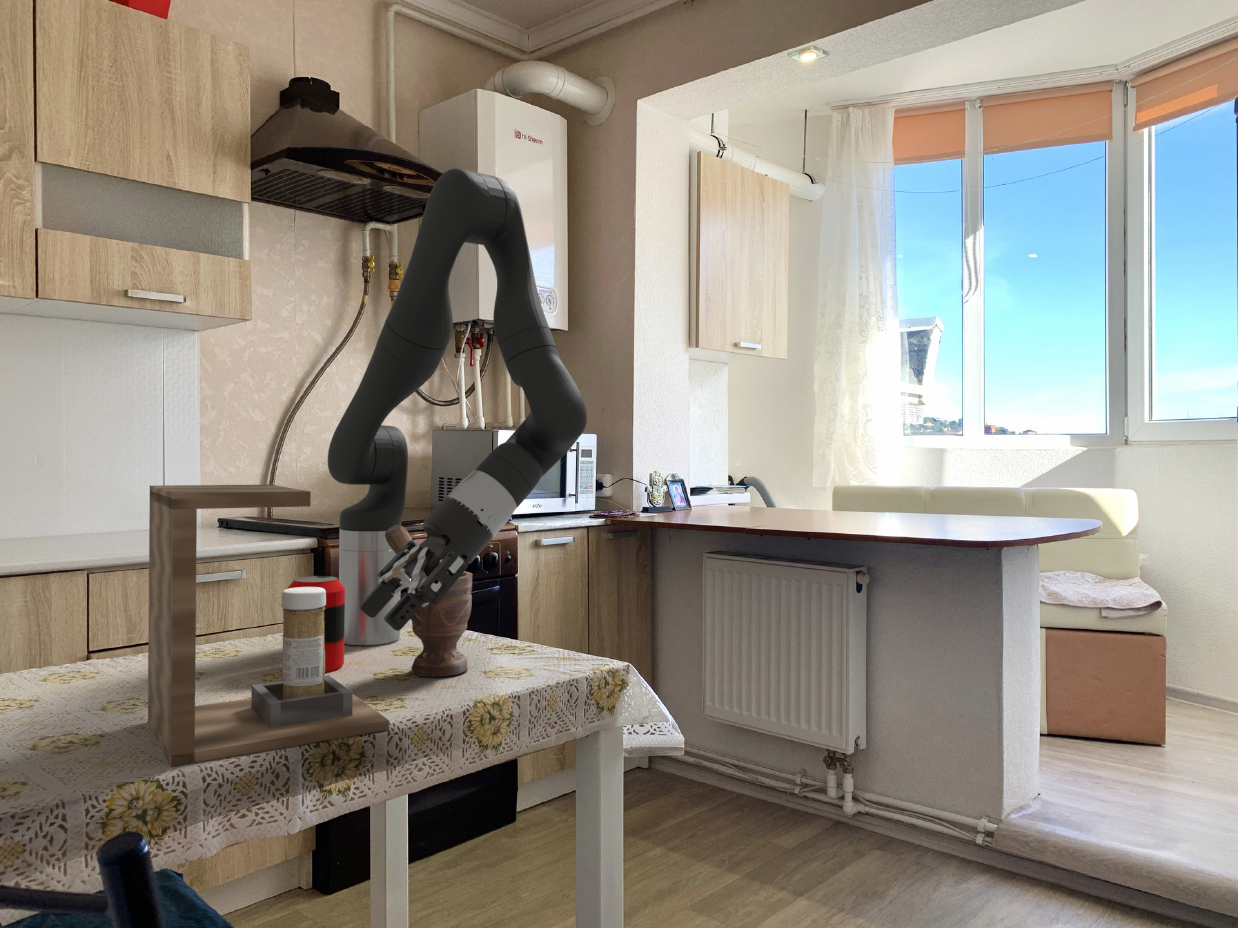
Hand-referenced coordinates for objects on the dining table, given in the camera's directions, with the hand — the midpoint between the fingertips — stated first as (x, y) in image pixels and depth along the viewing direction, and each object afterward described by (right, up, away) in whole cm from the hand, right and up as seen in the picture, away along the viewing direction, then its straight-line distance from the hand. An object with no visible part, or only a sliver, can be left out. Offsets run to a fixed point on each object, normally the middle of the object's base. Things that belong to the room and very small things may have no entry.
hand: (377, 619), depth 103 cm
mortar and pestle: (+3, -10, +17) cm, 20 cm away
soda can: (-14, -10, +19) cm, 25 cm away
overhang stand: (-10, -10, -7) cm, 16 cm away
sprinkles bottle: (-7, -9, -5) cm, 13 cm away
